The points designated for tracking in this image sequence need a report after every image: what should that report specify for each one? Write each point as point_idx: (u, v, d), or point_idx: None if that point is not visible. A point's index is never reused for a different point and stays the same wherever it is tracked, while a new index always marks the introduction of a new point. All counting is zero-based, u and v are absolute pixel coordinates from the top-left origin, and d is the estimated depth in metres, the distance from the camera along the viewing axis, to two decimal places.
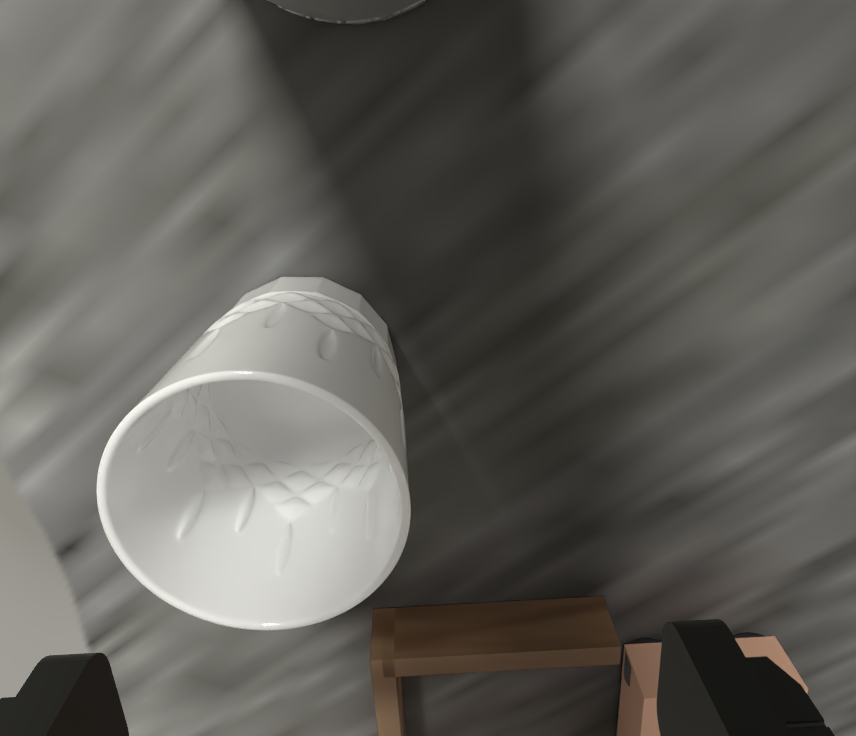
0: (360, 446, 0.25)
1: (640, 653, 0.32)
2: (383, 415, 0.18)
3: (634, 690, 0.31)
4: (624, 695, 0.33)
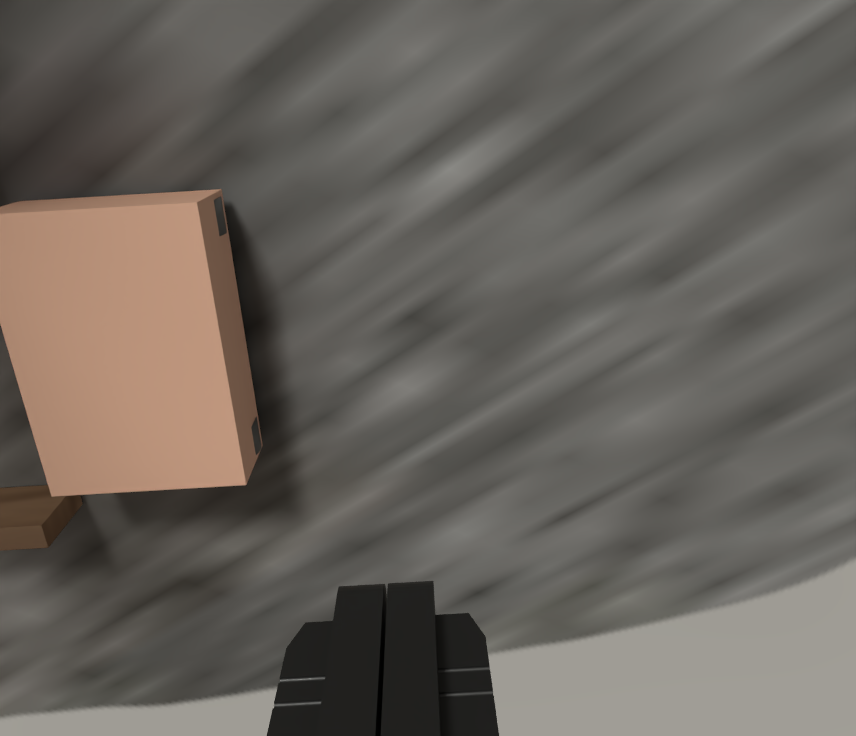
0: None
1: (27, 202, 0.24)
2: None
3: None
4: None
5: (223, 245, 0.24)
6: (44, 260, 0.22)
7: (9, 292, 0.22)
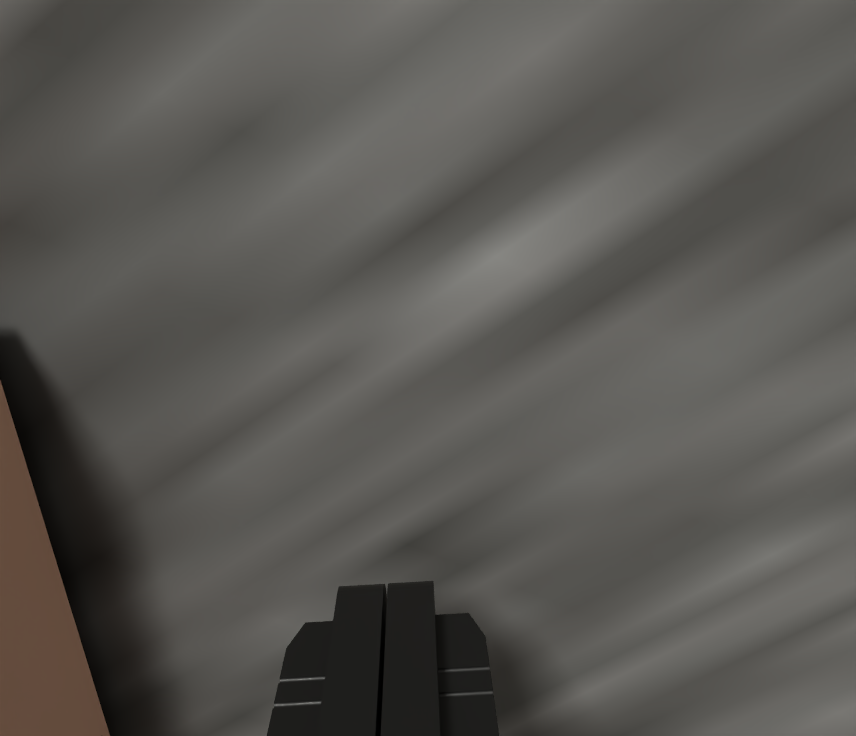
0: None
1: None
2: None
3: None
4: None
5: None
6: None
7: None
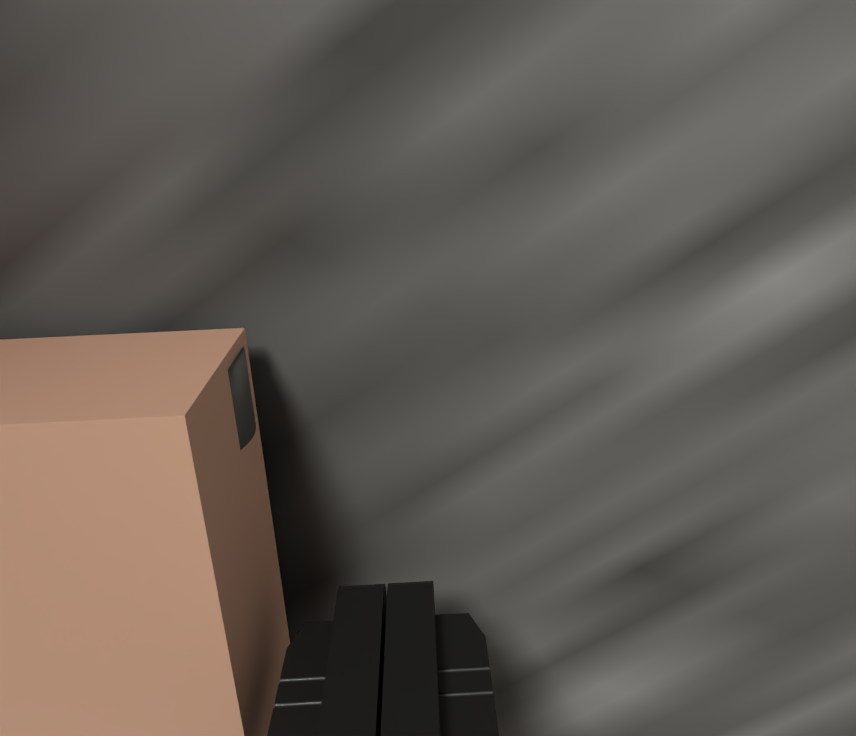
0: None
1: None
2: None
3: None
4: None
5: (248, 463, 0.10)
6: None
7: None
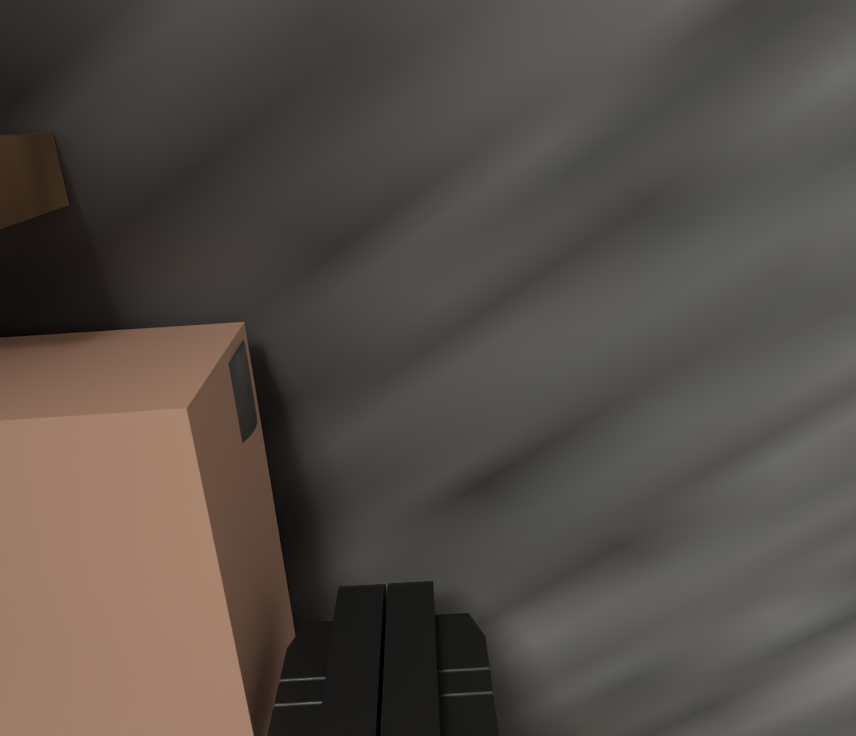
0: None
1: None
2: None
3: None
4: None
5: (250, 455, 0.10)
6: None
7: None
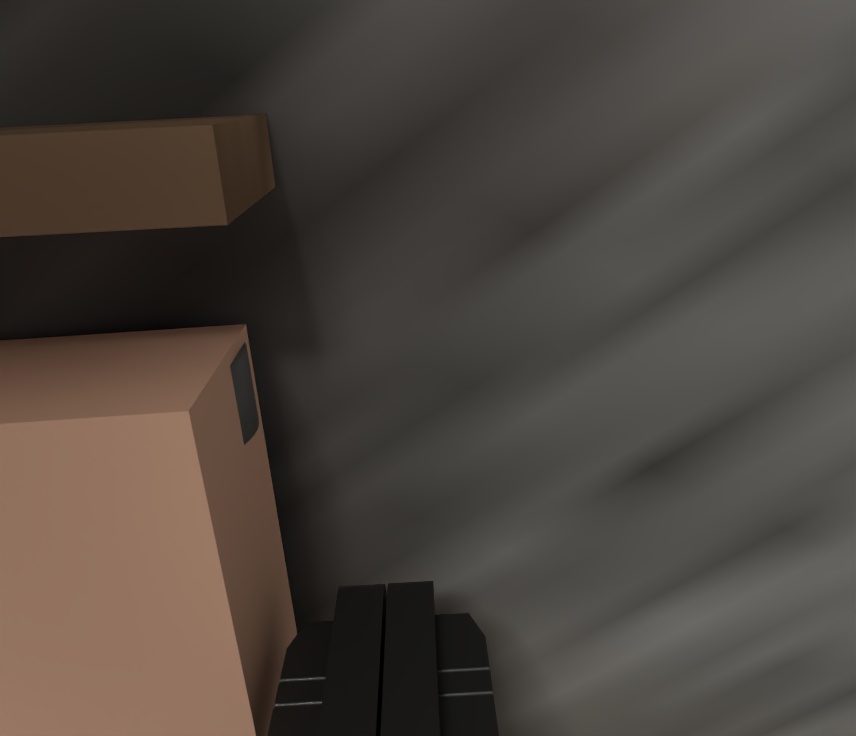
0: None
1: None
2: None
3: None
4: None
5: (252, 457, 0.10)
6: None
7: None
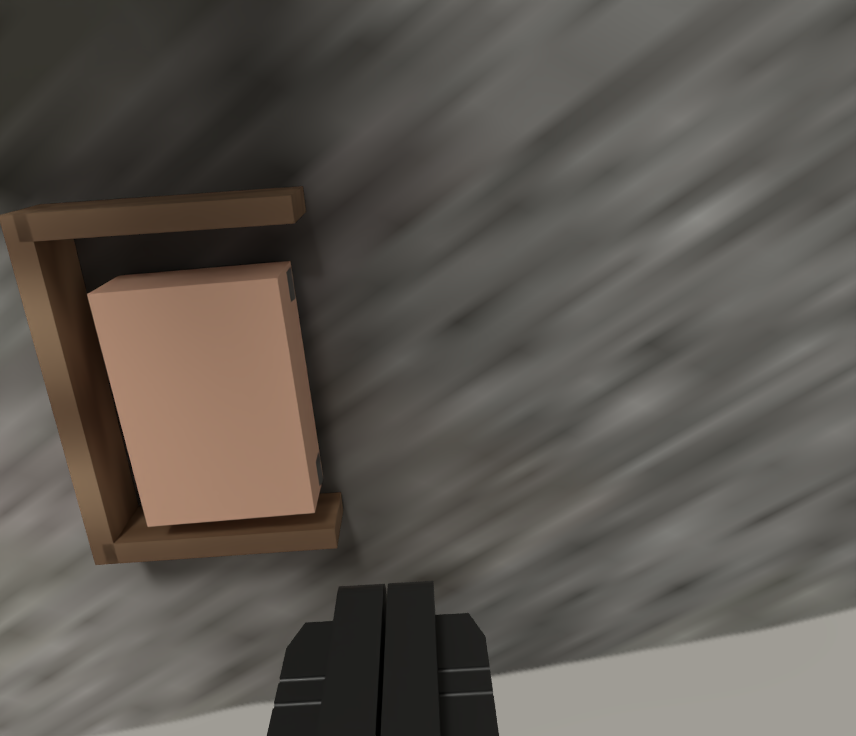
0: None
1: (127, 277, 0.28)
2: None
3: None
4: None
5: (293, 308, 0.28)
6: (148, 329, 0.26)
7: (118, 355, 0.26)
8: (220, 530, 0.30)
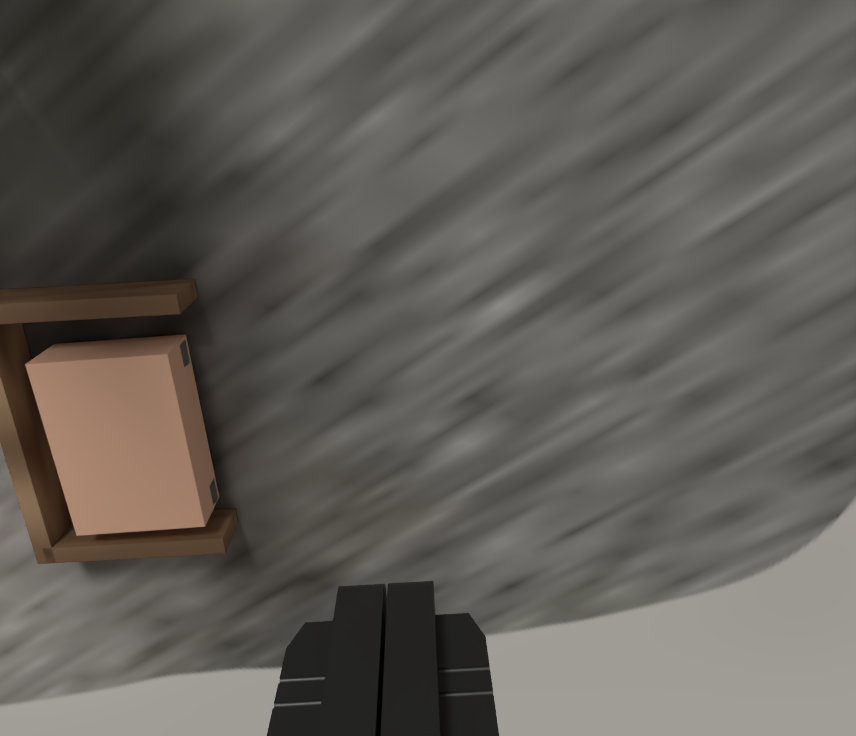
0: None
1: (59, 346, 0.36)
2: None
3: None
4: None
5: (187, 371, 0.37)
6: (72, 390, 0.35)
7: (50, 408, 0.35)
8: (135, 538, 0.39)
